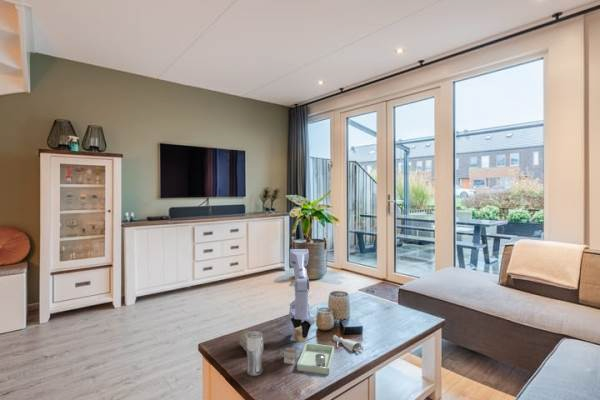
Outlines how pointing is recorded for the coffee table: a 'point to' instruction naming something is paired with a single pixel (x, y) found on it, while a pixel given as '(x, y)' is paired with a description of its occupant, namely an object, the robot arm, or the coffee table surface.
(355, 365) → the coffee table surface
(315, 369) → the tray
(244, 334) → the fossil replica
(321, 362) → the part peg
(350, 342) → the woman figurine
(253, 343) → the beer glass
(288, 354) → the part birch
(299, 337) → the part oak
